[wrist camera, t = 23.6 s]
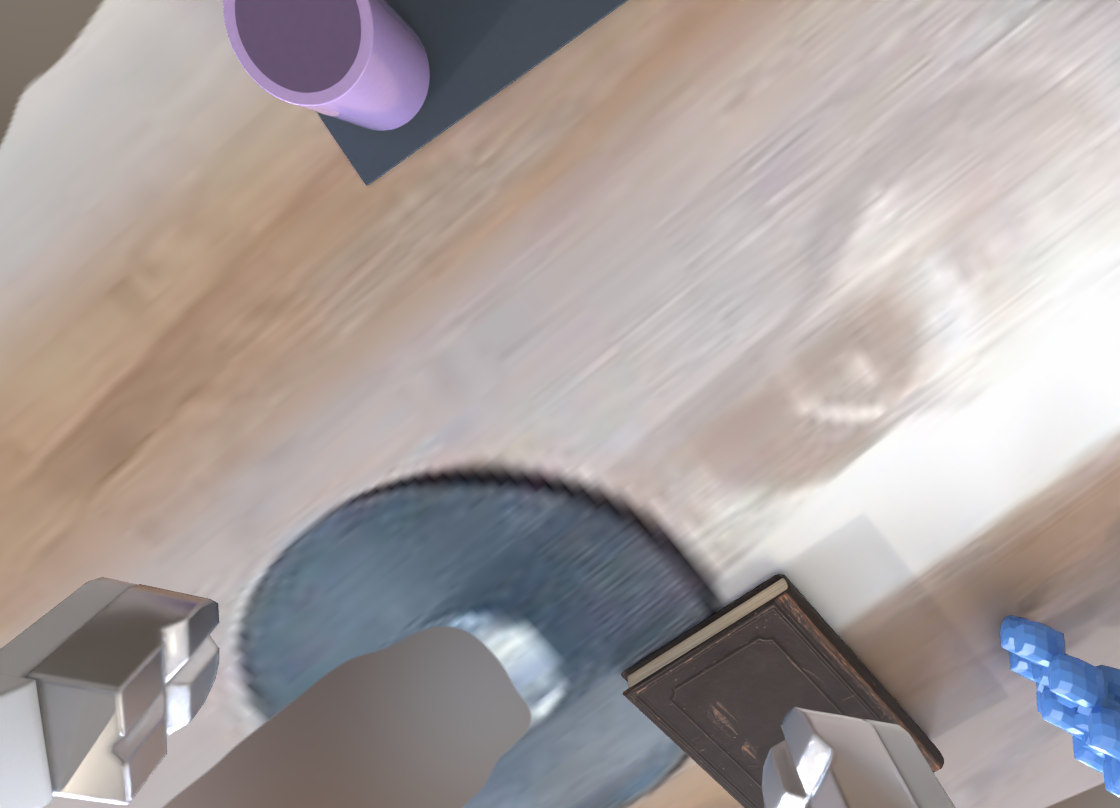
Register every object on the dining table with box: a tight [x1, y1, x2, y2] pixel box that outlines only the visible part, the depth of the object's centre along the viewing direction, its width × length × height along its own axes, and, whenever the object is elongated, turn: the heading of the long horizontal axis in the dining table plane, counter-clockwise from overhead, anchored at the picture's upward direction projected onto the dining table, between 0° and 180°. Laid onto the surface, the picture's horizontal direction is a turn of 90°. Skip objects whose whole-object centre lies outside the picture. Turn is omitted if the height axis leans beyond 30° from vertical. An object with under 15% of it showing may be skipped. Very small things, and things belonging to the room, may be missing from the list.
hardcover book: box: [621, 575, 944, 808], centre depth 47 cm, size 16×23×2 cm
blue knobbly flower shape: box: [1000, 615, 1120, 798], centre depth 40 cm, size 12×7×12 cm, turn 32°
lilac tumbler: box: [224, 0, 430, 131], centre depth 28 cm, size 6×6×10 cm
